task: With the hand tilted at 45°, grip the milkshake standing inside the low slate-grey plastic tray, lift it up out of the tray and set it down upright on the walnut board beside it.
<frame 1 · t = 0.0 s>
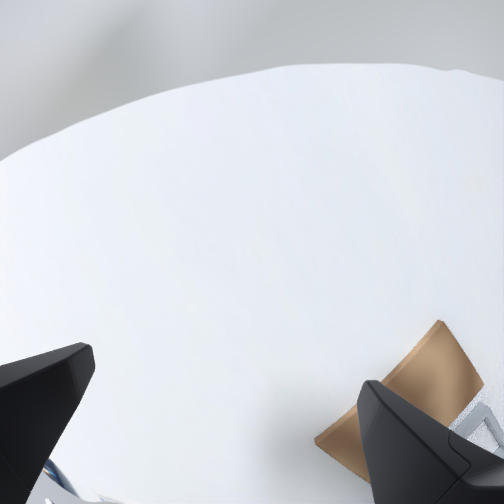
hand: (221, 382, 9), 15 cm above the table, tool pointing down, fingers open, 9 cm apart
board: (408, 412, 23), on the table
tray: (457, 464, 23), on the table
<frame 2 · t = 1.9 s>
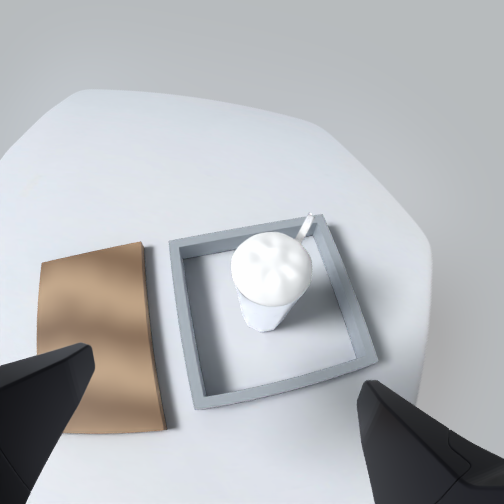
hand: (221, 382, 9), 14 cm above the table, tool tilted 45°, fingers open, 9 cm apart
milkshake: (266, 310, 24), resting in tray
board: (91, 339, 22), on the table
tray: (266, 309, 24), on the table
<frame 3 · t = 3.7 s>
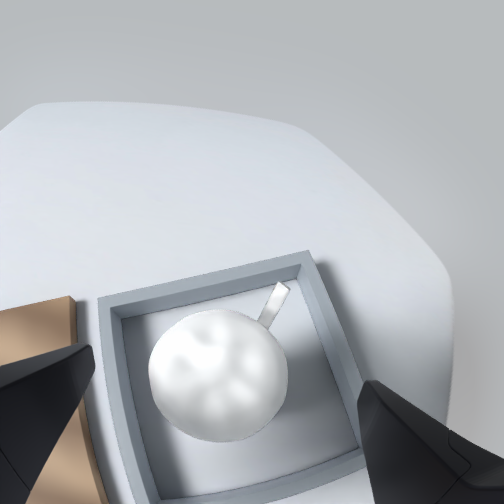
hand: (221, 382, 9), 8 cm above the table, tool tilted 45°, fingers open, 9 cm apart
milkshake: (232, 390, 16), resting in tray
board: (24, 416, 13), on the table
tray: (232, 390, 16), on the table
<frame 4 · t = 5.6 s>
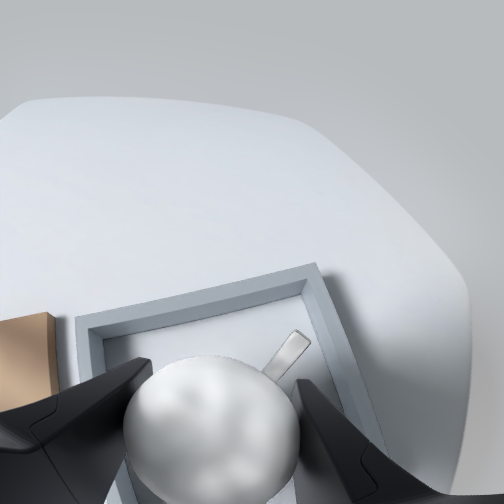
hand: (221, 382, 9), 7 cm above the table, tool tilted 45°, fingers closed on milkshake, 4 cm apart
milkshake: (227, 423, 14), resting in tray, touching gripper
board: (6, 439, 11), on the table
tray: (227, 423, 13), on the table
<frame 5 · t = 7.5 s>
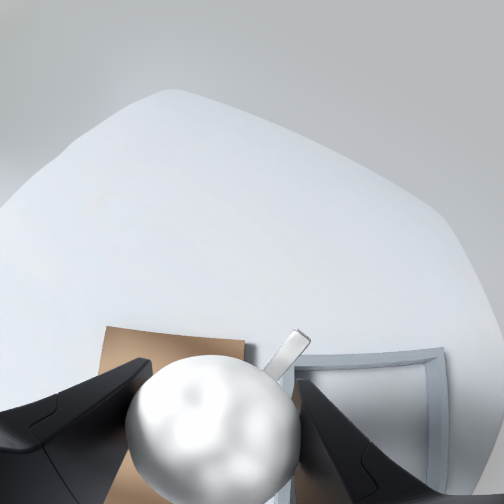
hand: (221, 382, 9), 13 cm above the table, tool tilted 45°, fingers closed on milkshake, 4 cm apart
milkshake: (230, 422, 14), point 6 cm above the table, touching gripper
board: (164, 437, 18), on the table
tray: (365, 440, 18), on the table
when the fingers open (8 cm above the table, at t = 9.8 s): milkshake stays where it is, resting on board.
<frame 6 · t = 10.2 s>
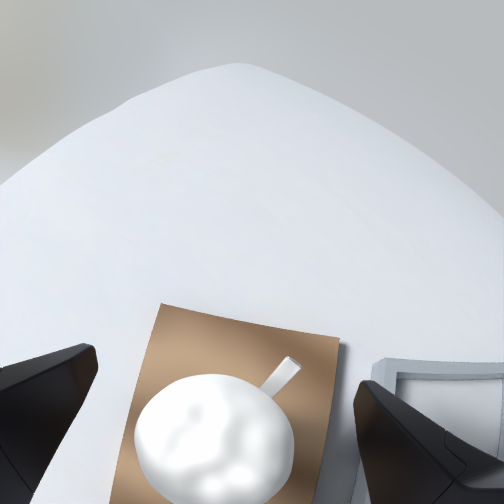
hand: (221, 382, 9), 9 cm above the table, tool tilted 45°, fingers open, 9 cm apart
milkshake: (230, 426, 14), point 1 cm above the table, touching board
board: (221, 453, 14), on the table
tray: (445, 460, 13), on the table
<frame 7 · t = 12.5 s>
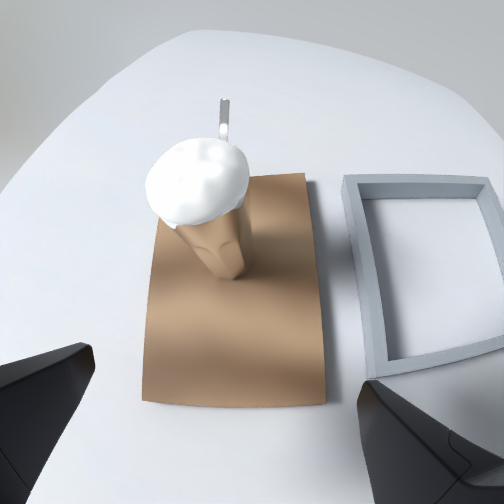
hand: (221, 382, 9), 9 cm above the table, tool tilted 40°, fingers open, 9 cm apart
milkshake: (233, 253, 20), point 1 cm above the table, touching board
board: (232, 283, 20), on the table
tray: (442, 267, 18), on the table
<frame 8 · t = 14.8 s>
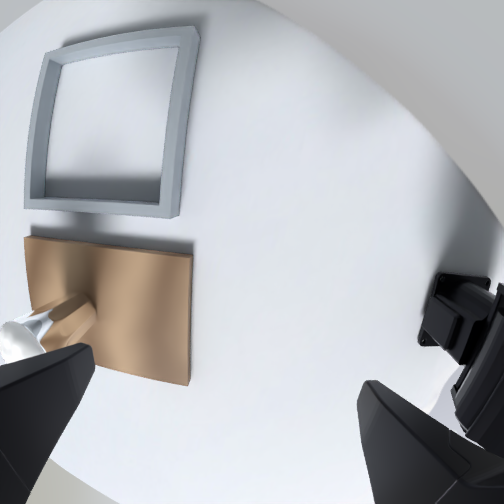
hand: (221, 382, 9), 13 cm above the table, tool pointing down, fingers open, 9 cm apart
milkshake: (79, 305, 22), point 1 cm above the table, touching board
board: (101, 307, 23), on the table
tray: (104, 122, 19), on the table
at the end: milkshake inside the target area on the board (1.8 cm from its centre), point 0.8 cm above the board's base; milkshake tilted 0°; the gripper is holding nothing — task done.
